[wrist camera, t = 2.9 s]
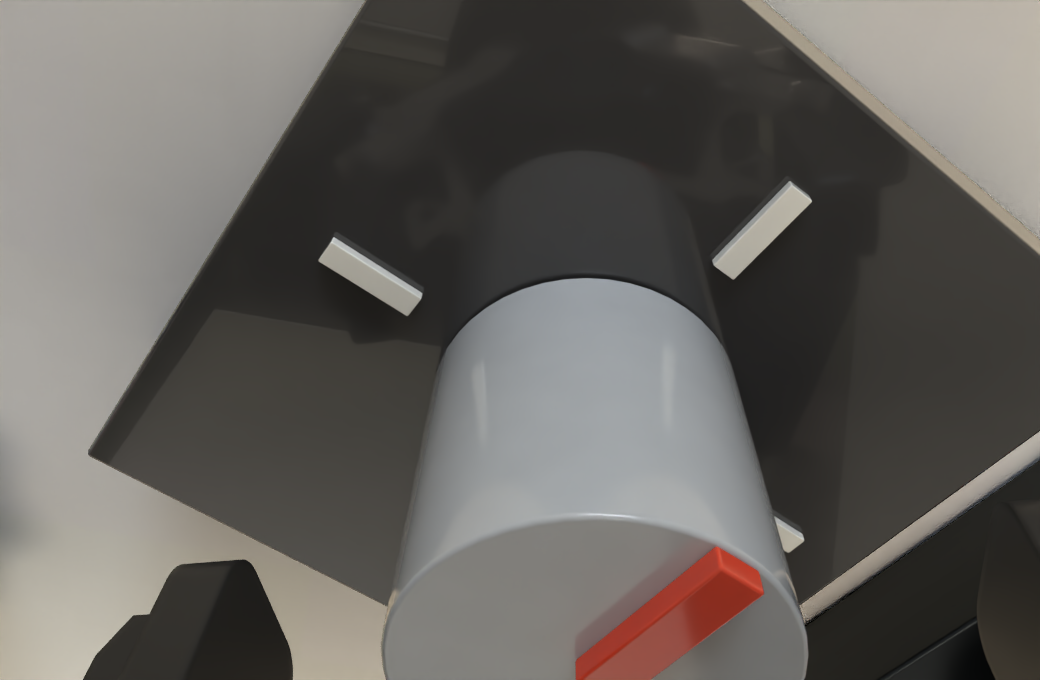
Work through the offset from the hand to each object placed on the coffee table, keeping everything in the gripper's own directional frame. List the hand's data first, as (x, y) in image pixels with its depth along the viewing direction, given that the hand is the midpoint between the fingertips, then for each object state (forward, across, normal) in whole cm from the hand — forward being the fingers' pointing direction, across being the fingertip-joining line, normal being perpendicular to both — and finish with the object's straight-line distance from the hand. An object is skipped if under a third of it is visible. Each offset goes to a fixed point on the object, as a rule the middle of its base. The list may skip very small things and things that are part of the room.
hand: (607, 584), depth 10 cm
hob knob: (+4, 0, 0) cm, 4 cm away
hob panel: (+7, 0, 0) cm, 7 cm away
